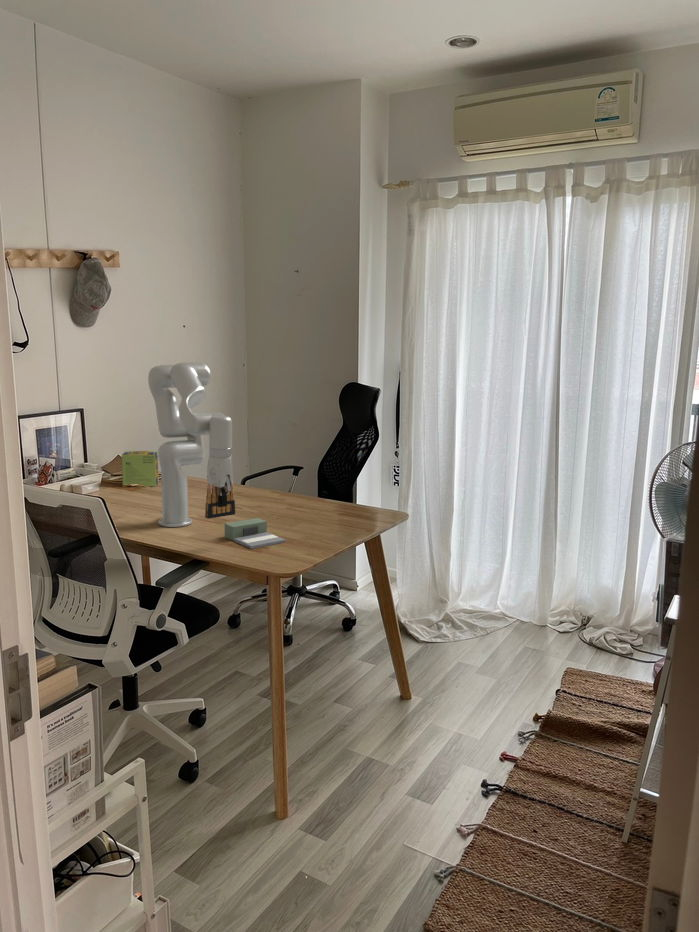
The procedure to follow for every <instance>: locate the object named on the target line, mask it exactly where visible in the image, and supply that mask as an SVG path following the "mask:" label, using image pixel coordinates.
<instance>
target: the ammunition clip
mask: <svg viewBox="0 0 699 932" xmlns="http://www.w3.org/2000/svg"><path fill="white" fill-rule="evenodd" d="M207 483H208V482H207ZM234 488H235V487H234V482H233V483H232V486H231V491H229V492H228V495H227V506H225V507H218V496H219V488H218V487H217V490H216V491H215V486H214V485H211V484H209V483H208V484H207V488H206V502H205V509H204V510H205V511H204V512H205V514H204V517H205V519H208V520H209V519H216V518H222V517H228V516H233V515H234V516H235V515H236V501H235V491H234ZM224 489H225V488H224ZM222 490H223V489H222Z"/></svg>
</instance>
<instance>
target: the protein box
mask: <svg viewBox="0 0 699 932" xmlns="http://www.w3.org/2000/svg"><path fill="white" fill-rule="evenodd" d="M121 469H122V471H121V472H122V477H121V478H122V486H123V485H128V484H139V485H144V486H156V485H157V486H158V484H159V483H158V482H160V481H159V457H158V450H130V451H129V450H126V451H124V452H123V453H122V454H121ZM157 486H156V487H157Z"/></svg>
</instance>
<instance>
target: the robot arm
mask: <svg viewBox="0 0 699 932" xmlns="http://www.w3.org/2000/svg"><path fill="white" fill-rule="evenodd" d="M211 379H212V372H211V369H210V367H209V366H208V365H207V364H206V363H204V362H179V363H175V364H162V365H161V364H160V365H156V366H153V367H152V368H151V369H150V370H149V372H148V376H147V380H148V387H149V388H148V389H149V390H150V393H151V396H152V397H153V400H154V404H155V411H156V419H157V425H158V430H159V431H158V432H159V433H160V435H161V437H163V438H166V439H171V438H176V439H177V438H187V439H185V440H172V441H167V442H163V443H162V444H160V446H159V447H158V450H157V451H158V463H159V467H160V474H161V475H160V477H161V478H160V479H161V508H162V509H161V512H160V513H161V514H162V515H161V517H162V518H159V520H157V521H158V525H159V526H162V527H167V528H179V527H186V526H189V525H191V524H192V523H193V519H192V518H191V517H189V503H188V501H189V500H188V476H187V474H186V473H185V472H184V470H183V469H182V467H184V466H193V465H199V464H201V463H202V464H203V462H204V460H205V458H206V457H205V456H206V449H205V448H206V447H205V442H204V436H207V435H208V437H209V438H208V441H209V442H208V445H209V447H208V449H209V450H208V453H209V454H208V459H207V466H206V468H207V469H206V482H207V483H209V484H210V486H212V485H214V486H215V491H216V490H217V487H218V488H219V496H218V507H225V506H227V495H228V492H230V491H231V486H232V483H233V484H234V481H233V480H234V479H233V476H234V475H233V472H234V471H233V460H232V457H233V420H232V418H231V417H230V416H228V415H225V414H223V413H222V412H218V411H217V412H216V411H214V412H212V411H211V412H194V411H192V410H191V409H192V408H195V407H196V406H197V405H199V404H200V403H202V402H203V401H204V399H205V398H206V394H207V392H206V388H205V387H204V386H207V385H209V384H210V382H211ZM170 388H171V389H175V388H176V390H177V392H178V394H179V396H180V397H181V400H180V402H179V399H178V397H177V396H176V395H175V393H174V392H173V391H171V389H170ZM224 488H225V489H224ZM222 489H223V490H222Z"/></svg>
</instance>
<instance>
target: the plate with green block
mask: <svg viewBox="0 0 699 932" xmlns="http://www.w3.org/2000/svg"><path fill="white" fill-rule="evenodd" d="M267 523H268V521H267V520H264V519H263V518H260V517H255V518H250V519H244V520H237V521H231V522H226V523H224V537H225V538H226V539H228V540H230V541H233V542H234V543H237V544H239V545H242V546H243V547H246V548H248V549H250V550H253V549H259V548H264V547H269V546H274V545H279V544H284V543H286V539H285V538H282V537H280V536H278V535H275V534H273V533H270V532H268V531H267V530H268V528H267V527H268V524H267Z"/></svg>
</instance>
